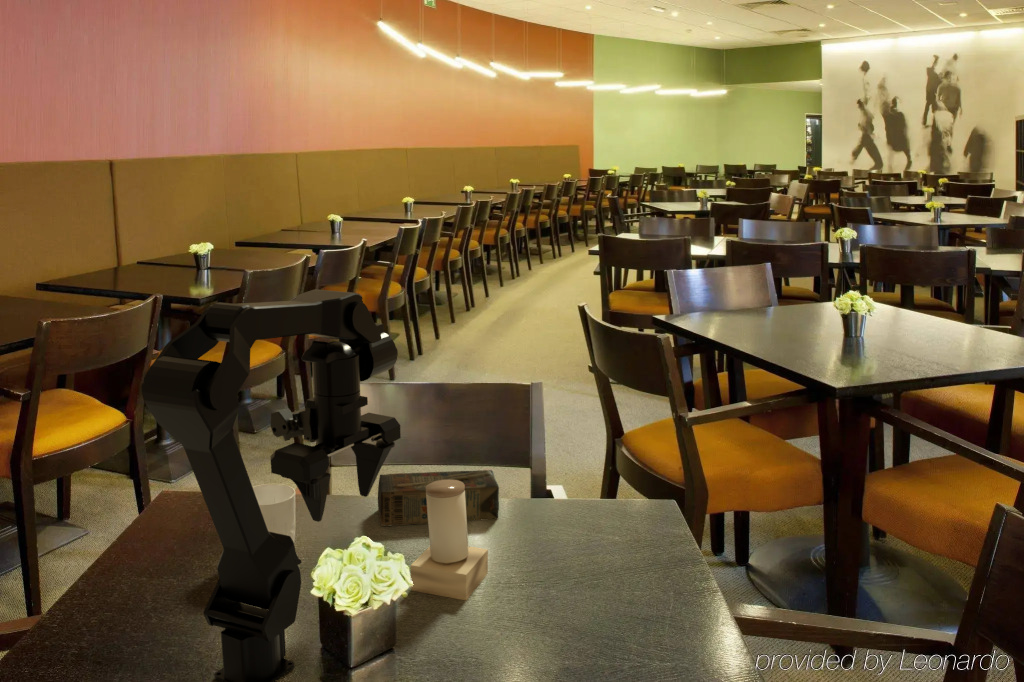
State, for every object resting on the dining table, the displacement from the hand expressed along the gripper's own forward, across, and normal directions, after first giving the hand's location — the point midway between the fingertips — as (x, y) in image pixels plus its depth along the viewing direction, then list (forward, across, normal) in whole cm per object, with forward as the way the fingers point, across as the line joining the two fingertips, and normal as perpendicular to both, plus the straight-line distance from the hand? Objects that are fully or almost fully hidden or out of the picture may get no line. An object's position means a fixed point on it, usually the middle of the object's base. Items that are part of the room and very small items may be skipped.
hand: (341, 507), depth 115 cm
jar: (+9, -11, +9) cm, 17 cm away
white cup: (+13, -4, -17) cm, 22 cm away
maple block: (+13, -11, +9) cm, 20 cm away
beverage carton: (+14, -30, -5) cm, 33 cm away
